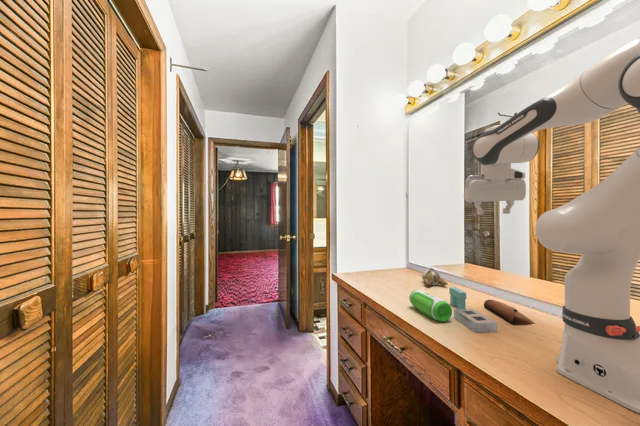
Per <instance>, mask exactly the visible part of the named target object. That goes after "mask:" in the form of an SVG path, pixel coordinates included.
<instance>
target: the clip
mask: <svg viewBox="0 0 640 426" xmlns="http://www.w3.org/2000/svg"><path fill="white" fill-rule="evenodd" d="M448 293H449V297H450V299H449V300H450V304H449V305H450V306H452V307H457V309H467V308H466V304H467V303H466V300H467V292H465V291H464V290H461V289H460V288H457V287H456V286H454V287H453V286H449V291H448Z"/></svg>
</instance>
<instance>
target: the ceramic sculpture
mask: <svg viewBox="0 0 640 426" xmlns="http://www.w3.org/2000/svg"><path fill="white" fill-rule="evenodd" d="M421 278H422V280H423V282H424V284H425V285H426V286H428V287H429V286H439V285H441V286H446V285H448V282H447V281H446V280H445V278H441V276H440V274H439V272H437V271H435V269H434V268H428V267H426V268H425V270H424V271H423V272H422V275H421Z"/></svg>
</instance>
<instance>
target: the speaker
mask: <svg viewBox="0 0 640 426" xmlns="http://www.w3.org/2000/svg"><path fill="white" fill-rule="evenodd" d="M409 302H410V303H411V305H412V306H413V307H414V308H415V309H417V310H418V311H419V312H421V313H422V314H424V315H425V316H426V317H429V318H430V319H433V320H436V321H438V322H447V321H449V320H450V319H451V317H452V316H453V315H452V314H453V309H452V307H451V306H452V305H450V304H449V303H448V302H447V301H446V300H444V299H442V298H440V297H438V296H436V295H434V294H432V293H429V292H427V291H425V290H422V289H416V290H415V289H413V290H412V291H411V293H410V294H409Z"/></svg>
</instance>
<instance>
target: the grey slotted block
mask: <svg viewBox="0 0 640 426" xmlns="http://www.w3.org/2000/svg"><path fill="white" fill-rule="evenodd" d="M453 318H454V319H455V320H457V321H458V322H460V323H461V324H462V325H464V326H465V327H467V328H468V329H470V330H471V331H473V332H474V333H475V334H477V333H478V334H480V333H498V322H497V321H495V320H493V319H492V318H490V317H488V316H487V315H485V314H484V313H482V312H480V311H478V310H476V309H475V308H466V309H458V308H454V309H453Z"/></svg>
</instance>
